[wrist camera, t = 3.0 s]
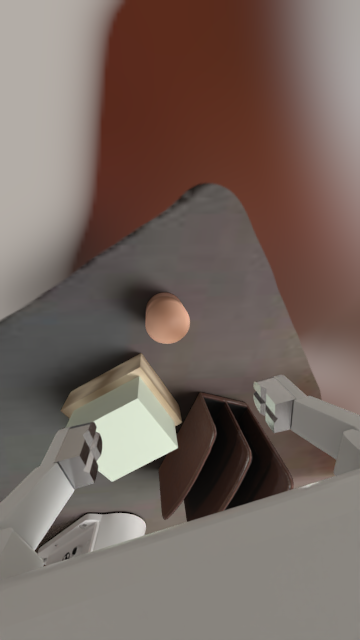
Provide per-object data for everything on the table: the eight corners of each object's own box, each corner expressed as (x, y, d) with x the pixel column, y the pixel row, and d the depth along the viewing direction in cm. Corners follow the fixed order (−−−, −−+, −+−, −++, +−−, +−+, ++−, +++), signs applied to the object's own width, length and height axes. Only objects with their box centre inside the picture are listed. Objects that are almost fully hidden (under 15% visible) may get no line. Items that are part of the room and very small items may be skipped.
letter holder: (246, 401, 34) (307, 494, 21) (202, 473, 40) (228, 582, 27) (199, 390, 32) (234, 488, 19) (157, 468, 37) (162, 588, 24)
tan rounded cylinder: (157, 333, 27) (159, 350, 22) (138, 304, 25) (136, 316, 20) (188, 316, 26) (196, 330, 22) (171, 285, 25) (177, 293, 20)
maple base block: (118, 434, 33) (114, 458, 29) (72, 389, 28) (60, 410, 24) (178, 402, 32) (182, 422, 29) (141, 351, 28) (140, 367, 24)
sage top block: (116, 451, 28) (111, 481, 25) (73, 410, 25) (60, 438, 21) (174, 421, 28) (178, 447, 24) (139, 375, 24) (137, 398, 21)
